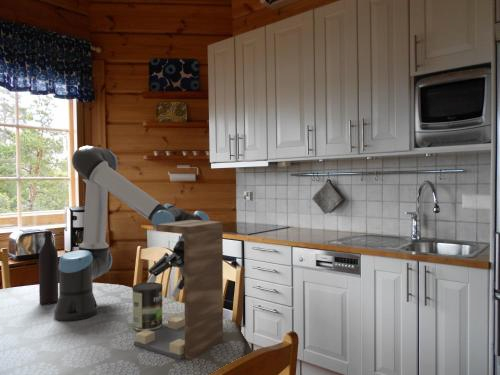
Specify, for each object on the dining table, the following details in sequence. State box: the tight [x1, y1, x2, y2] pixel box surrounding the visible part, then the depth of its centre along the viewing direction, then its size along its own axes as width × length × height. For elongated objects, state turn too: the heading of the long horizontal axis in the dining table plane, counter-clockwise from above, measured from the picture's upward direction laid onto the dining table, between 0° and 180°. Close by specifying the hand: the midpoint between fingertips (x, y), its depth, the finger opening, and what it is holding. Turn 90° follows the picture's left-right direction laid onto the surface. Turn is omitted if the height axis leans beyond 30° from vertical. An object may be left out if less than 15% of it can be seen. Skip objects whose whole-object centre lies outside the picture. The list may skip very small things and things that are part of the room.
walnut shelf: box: [155, 220, 224, 360], centre depth 123 cm, size 13×16×38 cm
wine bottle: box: [38, 230, 59, 305], centre depth 165 cm, size 7×7×30 cm
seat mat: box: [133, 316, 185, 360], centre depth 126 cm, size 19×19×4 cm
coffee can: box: [132, 282, 164, 332], centre depth 139 cm, size 10×10×14 cm
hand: (159, 293), depth 142 cm, fingers open, 13 cm apart
